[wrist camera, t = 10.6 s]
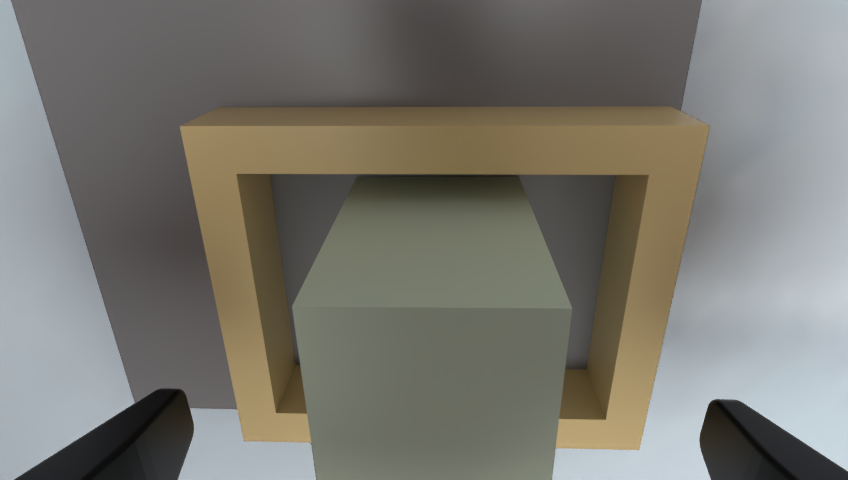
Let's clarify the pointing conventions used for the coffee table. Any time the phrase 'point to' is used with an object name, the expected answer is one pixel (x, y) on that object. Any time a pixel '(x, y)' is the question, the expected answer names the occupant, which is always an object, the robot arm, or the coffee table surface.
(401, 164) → the socket dock
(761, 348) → the coffee table surface
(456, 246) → the block
